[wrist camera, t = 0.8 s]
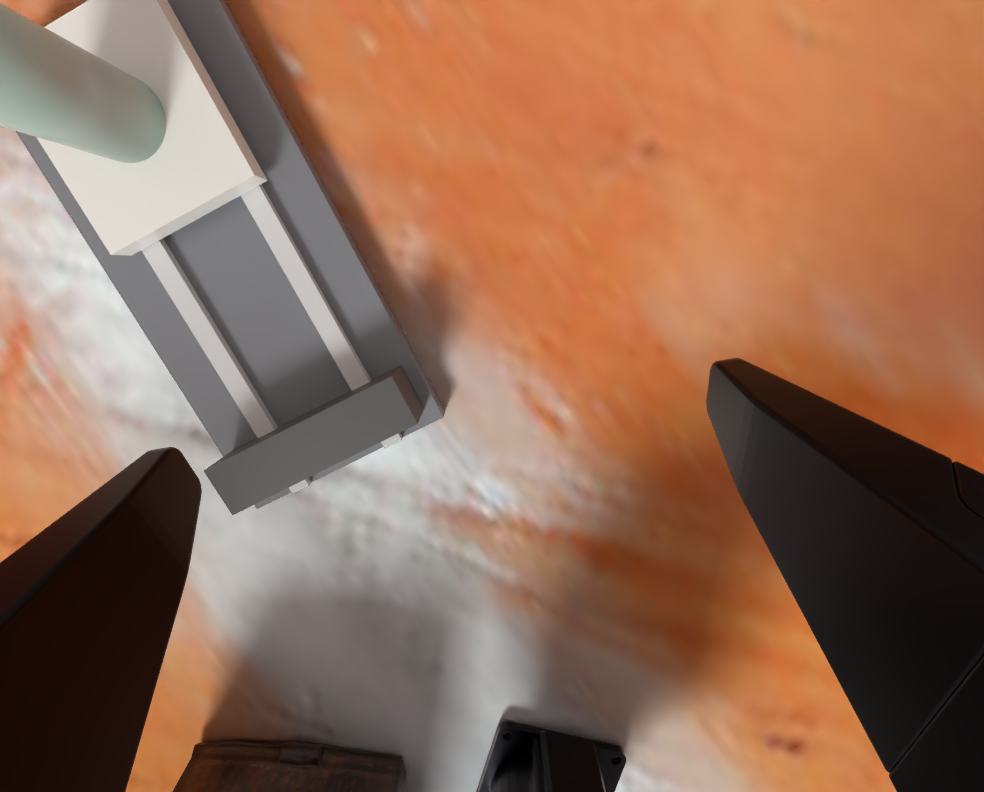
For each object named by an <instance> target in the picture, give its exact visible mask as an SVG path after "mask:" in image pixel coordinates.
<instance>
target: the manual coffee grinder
mask: <svg viewBox="0 0 984 792" xmlns="http://www.w3.org/2000/svg"><path fill="white" fill-rule="evenodd" d="M405 780H406V771H405V767H404V764H403V761H402V757H401V756H394V755H387V754H380V753H373V752H366V751H359V750H353V749H346V748H340V747H334V746H327V745H321V744H314V743H308V742H294V741H283V742H267V741H247V740H230V741H218V742H205V743H198V744H196V745H195V747H194V750H193V754H192V757H191V760H190V761H189V763H188V765H187V767H186V768H185V770H184V772H183V774H182V776H181V777H180V779H179V781H178V783H177V785H176V786H175V788H174V790H173V792H404V790H405Z"/></svg>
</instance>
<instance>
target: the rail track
mask: <svg viewBox="0 0 984 792" xmlns="http://www.w3.org/2000/svg"><path fill="white" fill-rule="evenodd" d="M167 1H168V3H169V4H170V6H171V8H172V10H173V12H174V13H175V15H176V17H177V19H178V21H179V22H180V24H181V26H182V28H183V30H184V31H185V33H186V35H187V37H188V39H189V40H190V42H191V44H192V46H193V47H194V49H195V51H196V53H197V55H198V56H199V58H200V60H201V62H202V64H203V65H204V67H205V69H206V71H207V73H208V74H209V76H210V78H211V80H212V82H213V83H214V85H215V87H216V89H217V91H218V92H219V94H220V96H221V98H222V100H223V101H224V103H225V105H226V107H227V109H228V110H229V112H230V114H231V116H232V118H233V119H234V121H235V123H236V125H237V127H238V128H239V130H240V132H241V134H242V136H243V137H244V139H245V141H246V143H247V145H248V146H249V148H250V150H251V152H252V153H253V155H254V157H255V159H256V161H257V162H258V164H259V166H260V168H261V170H262V171H263V173H264V175H265V177H266V179H267V180H268V181H266V182H264V183H262V184H261V185H259V186H257V187H255V188H253V189H251V190H250V191H248V192H246V193H244V194H242V195H241V196H239V197H237V198H235V199H233V200H232V201H230V202H228V203H226V204H224V205H222V206H221V207H219V208H217V209H215V210H213V211H212V212H210V213H208V214H206V215H204V216H202V217H201V218H199V219H197V220H195V221H193V222H192V223H190V224H188V225H186V226H184V227H182V228H181V229H179V230H177V231H175V232H173V233H172V234H170V235H168V236H166V237H164V238H162V239H161V240H159V241H157V242H155V243H153V244H152V245H150V246H148V247H146V248H144V249H143V250H141V251H139V252H137V253H135V254H133V255H132V256H127V255H110V253H109V251H108V250H107V248H106V247H105V245H104V244H103V242H102V240H101V239H100V237H99V236H98V234H97V232H96V231H95V229H94V228H93V226H92V225H91V223H90V221H89V220H88V218H87V217H86V215H85V213H84V212H83V210H82V209H81V207H80V206H79V204H78V202H77V201H76V199H75V198H74V196H73V195H72V193H71V191H70V190H69V188H68V187H67V185H66V183H65V182H64V180H63V179H62V177H61V176H60V174H59V172H58V171H57V169H56V168H55V166H54V165H53V163H52V161H51V160H50V158H49V157H48V155H47V153H46V152H45V150H44V149H43V147H42V146H41V144H40V142H39V141H38V139H37V138H36V137H35V136H31V135H28V134H25V133H21V132H18V131H16V132H17V134H18V136H19V137H20V139H21V140H22V142H23V143H24V145H25V147H26V148H27V150H28V151H29V153H30V154H31V156H32V158H33V159H34V161H35V162H36V164H37V165H38V167H39V168H40V170H41V172H42V173H43V175H44V176H45V178H46V179H47V181H48V183H49V184H50V186H51V187H52V189H53V190H54V192H55V194H56V195H57V197H58V198H59V200H60V201H61V203H62V204H63V206H64V208H65V209H66V211H67V212H68V214H69V215H70V217H71V219H72V220H73V222H74V223H75V225H76V226H77V228H78V230H79V231H80V233H81V234H82V236H83V237H84V239H85V240H86V242H87V244H88V245H89V247H90V248H91V250H92V251H93V253H94V255H95V256H96V258H97V259H98V261H99V262H100V264H101V266H102V267H103V269H104V270H105V272H106V273H107V275H108V276H109V278H110V280H111V281H112V283H113V284H114V286H115V287H116V289H117V291H118V292H119V294H120V295H121V297H122V298H123V300H124V302H125V303H126V305H127V306H128V308H129V309H130V311H131V312H132V314H133V316H134V317H135V319H136V320H137V322H138V323H139V325H140V327H141V328H142V330H143V331H144V333H145V334H146V336H147V338H148V339H149V341H150V342H151V344H152V345H153V347H154V348H155V350H156V352H157V353H158V355H159V356H160V358H161V359H162V361H163V363H164V364H165V366H166V367H167V369H168V370H169V372H170V374H171V375H172V377H173V378H174V380H175V381H176V383H177V384H178V386H179V388H180V389H181V391H182V392H183V394H184V395H185V397H186V399H187V400H188V402H189V403H190V405H191V406H192V408H193V410H194V411H195V413H196V414H197V416H198V417H199V419H200V420H201V422H202V424H203V425H204V427H205V428H206V430H207V431H208V433H209V435H210V436H211V438H212V439H213V441H214V442H215V444H216V446H217V447H218V449H219V450H220V452H221V453H222V455H223V456H224V457H223V458H221V459H220V460H218V461H217V462H216V463H214V464H213V465H211V466H210V467H208V468H207V469H206V470H204V472H205V474H206V475H207V477H208V478H209V480H210V481H211V483H212V484H213V486H214V487H215V489H216V490H217V492H218V494H219V495H220V497H221V498H222V500H223V501H224V503H225V504H226V506H227V507H228V509H229V510H230V512H231V514H232V515H234V514H236V513H238V512H240V511H242V510H244V509H246V508H248V507H250V506H252V505H255V507H256V508H257V509H258V508H260V507H262V506H264V505H266V504H268V503H270V502H272V501H274V500H276V499H278V498H280V497H282V496H284V495H286V494H288V493H290V492H291V493H292V494H293V493H295V492H297V491H299V490H301V489H303V488H305V487H307V486H309V485H310V483H311V482H313V481H315V480H317V479H319V478H321V477H323V476H325V475H327V474H329V473H331V472H333V471H335V470H337V469H339V468H341V467H343V466H345V465H347V464H349V463H351V462H353V461H355V460H357V459H359V458H361V457H363V456H366V455H368V454H370V453H372V452H374V451H376V450H378V449H380V448H382V447H384V448H386V447H388V446H390V445H392V444H394V443H396V442H398V441H400V440H402V438H403V437H404V436H406V435H408V434H410V433H412V432H414V431H416V430H418V429H420V428H422V427H424V426H426V425H428V424H430V423H433V422H435V421H437V420H439V419H441V418H443V417H444V413H445V410H444V408H443V406H442V405H441V403H440V401H439V399H438V397H437V395H436V393H435V392H434V390H433V388H432V386H431V384H430V382H429V380H428V378H427V377H426V375H425V373H424V371H423V369H422V367H421V365H420V364H419V362H418V360H417V358H416V356H415V354H414V352H413V351H412V349H411V347H410V345H409V343H408V341H407V339H406V337H405V336H404V334H403V332H402V330H401V328H400V326H399V324H398V323H397V321H396V319H395V317H394V315H393V313H392V311H391V310H390V308H389V306H388V304H387V302H386V300H385V298H384V296H383V295H382V293H381V291H380V289H379V287H378V285H377V283H376V282H375V280H374V278H373V276H372V274H371V272H370V270H369V269H368V267H367V265H366V263H365V261H364V259H363V257H362V255H361V254H360V252H359V250H358V248H357V246H356V244H355V242H354V241H353V239H352V237H351V235H350V233H349V231H348V229H347V227H346V226H345V224H344V222H343V220H342V218H341V216H340V214H339V213H338V211H337V209H336V207H335V205H334V203H333V201H332V200H331V198H330V196H329V194H328V192H327V190H326V188H325V186H324V185H323V183H322V181H321V179H320V177H319V175H318V173H317V172H316V170H315V168H314V166H313V164H312V162H311V160H310V159H309V157H308V155H307V153H306V151H305V149H304V147H303V145H302V144H301V142H300V140H299V138H298V136H297V134H296V132H295V131H294V129H293V127H292V125H291V123H290V121H289V119H288V118H287V116H286V114H285V112H284V110H283V108H282V106H281V104H280V103H279V101H278V99H277V97H276V95H275V93H274V91H273V90H272V88H271V86H270V84H269V82H268V80H267V78H266V77H265V75H264V73H263V71H262V69H261V67H260V65H259V63H258V62H257V60H256V58H255V56H254V54H253V52H252V50H251V49H250V47H249V45H248V43H247V41H246V39H245V37H244V36H243V34H242V32H241V30H240V28H239V26H238V24H237V22H236V21H235V19H234V17H233V15H232V13H231V11H230V9H229V8H228V6H227V4H226V2H225V0H167Z"/></svg>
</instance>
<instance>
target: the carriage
mask: <svg viewBox="0 0 984 792" xmlns="http://www.w3.org/2000/svg"><path fill="white" fill-rule="evenodd" d="M0 126H1V127H5V128H8V129H11V130H15V131H18V132H21V133H25V134H28V135H31V136H35V137H36V138H37V139H38V141H39V142H40V144H41V146H42V147H43V149H44V150H45V152H46V153H47V155H48V157H49V158H50V160H51V161H52V163H53V165H54V166H55V168H56V169H57V171H58V172H59V174H60V176H61V177H62V179H63V180H64V182H65V183H66V185H67V187H68V188H69V190H70V191H71V193H72V195H73V196H74V198H75V199H76V201H77V202H78V204H79V206H80V207H81V209H82V210H83V212H84V213H85V215H86V217H87V218H88V220H89V221H90V223H91V225H92V226H93V228H94V229H95V231H96V232H97V234H98V236H99V237H100V239H101V240H102V242H103V244H104V245H105V247H106V248H107V250H108V251H109V253H110V255H127V256H132V255H133V254H135V253H137V252H139V251H141V250H143V249H144V248H146V247H148V246H150V245H152V244H153V243H155V242H157V241H159V240H161V239H162V238H164V237H166V236H168V235H170V234H172V233H173V232H175V231H177V230H179V229H181V228H182V227H184V226H186V225H188V224H190V223H192V222H193V221H195V220H197V219H199V218H201V217H202V216H204V215H206V214H208V213H210V212H212V211H213V210H215V209H217V208H219V207H221V206H222V205H224V204H226V203H228V202H230V201H232V200H233V199H235V198H237V197H239V196H241V195H242V194H244V193H246V192H248V191H250V190H251V189H253V188H255V187H257V186H259V185H261V184H262V183H264V182H266V181H268V180H267V179H266V177H265V175H264V173H263V171H262V170H261V168H260V166H259V164H258V162H257V161H256V159H255V157H254V155H253V153H252V152H251V150H250V148H249V146H248V145H247V143H246V141H245V139H244V137H243V136H242V134H241V132H240V130H239V128H238V127H237V125H236V123H235V121H234V119H233V118H232V116H231V114H230V112H229V110H228V109H227V107H226V105H225V103H224V101H223V100H222V98H221V96H220V94H219V92H218V91H217V89H216V87H215V85H214V83H213V82H212V80H211V78H210V76H209V74H208V73H207V71H206V69H205V67H204V65H203V64H202V62H201V60H200V58H199V56H198V55H197V53H196V51H195V49H194V47H193V46H192V44H191V42H190V40H189V39H188V37H187V35H186V33H185V31H184V30H183V28H182V26H181V24H180V22H179V21H178V19H177V17H176V15H175V13H174V12H173V10H172V8H171V6H170V4H169V3H168V1H167V0H88V1H86V2H85V3H83V4H81V5H80V6H78V7H76V8H75V9H73V10H72V11H70V12H68V13H67V14H65V15H63V16H62V17H60V18H58V19H57V20H55V21H53V22H52V23H50V24H48V25H47V26H45V27H43V26H41V25H39V24H37V23H35V22H34V21H32V20H30V19H28V18H26V17H25V16H23V15H21V14H19V13H17V12H16V11H14V10H12V9H10V8H8V7H6V6H5V5H3V4H1V3H0Z"/></svg>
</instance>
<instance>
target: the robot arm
mask: <svg viewBox="0 0 984 792" xmlns="http://www.w3.org/2000/svg"><path fill="white" fill-rule="evenodd" d="M707 411H708V415H709V417H710V420H711V423H712V425H713V428H714V430H715V433H716V436H717V438H718V441H719V444H720V446H721V449H722V451H723V454H724V457H725V459H726V462H727V464H728V467H729V470H730V472H731V475H732V478H733V480H734V482H735V485H736V487H737V490H738V492H739V494H740V496H741V498H742V500H743V502H744V504H745V506H746V508H747V509H748V511H749V513H750V515H751V517H752V519H753V521H754V523H755V524H756V526H757V528H758V530H759V532H760V534H761V536H762V538H763V540H764V541H765V543H766V545H767V547H768V549H769V551H770V553H771V555H772V556H773V558H774V560H775V562H776V564H777V566H778V568H779V570H780V572H781V573H782V575H783V577H784V579H785V581H786V583H787V585H788V587H789V588H790V590H791V592H792V594H793V596H794V598H795V600H796V602H797V604H798V605H799V607H800V609H801V611H802V613H803V615H804V617H805V619H806V620H807V622H808V624H809V626H810V628H811V630H812V632H813V634H814V636H815V637H816V639H817V641H818V643H819V645H820V647H821V649H822V651H823V652H824V654H825V656H826V658H827V660H828V662H829V664H830V666H831V668H832V669H833V671H834V673H835V675H836V677H837V679H838V681H839V683H840V684H841V686H842V688H843V690H844V692H845V694H846V696H847V698H848V700H849V701H850V703H851V705H852V707H853V709H854V711H855V713H856V715H857V716H858V718H859V720H860V722H861V724H862V726H863V728H864V730H865V732H866V733H867V735H868V737H869V739H870V741H871V743H872V745H873V747H874V748H875V750H876V752H877V754H878V756H879V758H880V760H881V762H882V764H883V765H884V767H885V769H886V771H887V772H889V773H890V774H889V777H890V779H891V781H892V783H893V785H894V787H895V789H896V791H897V792H984V474H982V473H980V472H978V471H976V470H974V469H972V468H970V467H968V466H966V465H964V464H961V463H959V462H953V463H952V460H951V459H950V458H949V457H946V456H944V455H942V454H940V453H938V452H936V451H934V450H932V449H930V448H927V447H925V446H923V445H921V444H919V443H917V442H915V441H913V440H911V439H909V438H906V437H904V436H902V435H900V434H898V433H896V432H894V431H892V430H890V429H887V428H885V427H883V426H881V425H879V424H877V423H875V422H873V421H871V420H869V419H866V418H864V417H862V416H860V415H858V414H856V413H854V412H852V411H850V410H848V409H845V408H843V407H841V406H839V405H837V404H835V403H833V402H831V401H829V400H826V399H824V398H822V397H820V396H818V395H816V394H814V393H812V392H810V391H808V390H805V389H803V388H801V387H799V386H797V385H795V384H793V383H791V382H789V381H786V380H784V379H782V378H780V377H778V376H776V375H774V374H772V373H770V372H768V371H765V370H763V369H761V368H759V367H757V366H755V365H753V364H751V363H749V362H746V361H744V360H742V359H740V358H733V359H727V360H720V361H716V362H714V363H713V364H712V366H711V369H710V376H709V384H708V393H707ZM201 493H202V489H201V484H200V481H199V479H198V477H197V476H196V474H195V473H194V471H193V470H192V468H191V467H190V465H189V463H188V462H187V460H186V459H185V457H184V456H183V454H182V453H181V452H180V451H179V450H178V449H177V448H174V447H168V448H161V449H155V450H151V451H148V452H146V453H145V454H144V455H142V456H141V457H140V458H138V459H137V460H136V461H134V462H133V463H132V464H130V465H129V466H128V467H126V468H125V469H124V470H123V471H121V472H120V473H119V474H117V475H116V476H115V477H113V478H112V479H111V480H109V481H108V482H107V483H105V484H104V485H103V486H101V487H100V488H99V489H97V490H96V491H95V492H93V493H92V494H91V495H89V496H88V497H87V498H85V499H84V500H83V501H81V502H80V503H79V504H77V505H76V506H75V507H74V508H72V509H71V510H70V511H68V512H67V513H66V514H64V515H63V516H62V517H60V518H59V519H58V520H56V521H55V522H54V523H52V524H51V525H50V526H48V527H47V528H46V529H44V530H43V531H42V532H40V533H39V534H38V535H36V536H35V537H34V538H32V539H31V540H30V541H28V542H27V543H26V544H25V545H23V546H22V547H21V548H19V549H18V550H17V551H15V552H14V553H13V554H11V555H10V556H9V557H7V558H6V559H5V560H3V561H2V562H1V563H0V792H125V791H126V788H127V784H128V781H129V777H130V774H131V770H132V767H133V763H134V760H135V756H136V753H137V749H138V746H139V742H140V739H141V735H142V732H143V728H144V725H145V722H146V718H147V715H148V711H149V708H150V704H151V701H152V697H153V694H154V690H155V687H156V683H157V680H158V676H159V673H160V669H161V666H162V663H163V659H164V656H165V652H166V649H167V645H168V642H169V638H170V635H171V631H172V628H173V624H174V621H175V617H176V614H177V610H178V607H179V603H180V600H181V597H182V593H183V590H184V586H185V582H186V578H187V574H188V569H189V565H190V560H191V554H192V548H193V542H194V536H195V530H196V524H197V518H198V512H199V506H200V500H201ZM506 732H510V733H511V734H505V733H506ZM615 756H618V757H616V758H612V757H615ZM625 763H626V757H625V754H624V751H623V749H622V748H621V747H619V746H617V745H612V744H608V743H603V742H599V741H595V740H590V739H586V738H581V737H577V736H572V735H568V734H563V733H559V732H555V731H550V730H546V729H541V728H537V727H532V726H528V725H523V724H519V723H515V722H509V721H506V722H503V723H501V724H500V725H499V727H498V729H497V732H496V735H495V738H494V741H493V744H492V747H491V750H490V753H489V756H488V760H487V763H486V766H485V769H484V772H483V775H482V778H481V781H480V784H479V787H478V790H477V792H614V791H615V789H616V786H617V784H618V781H619V779H620V776H621V773H622V771H623V768H624V766H625Z"/></svg>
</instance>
